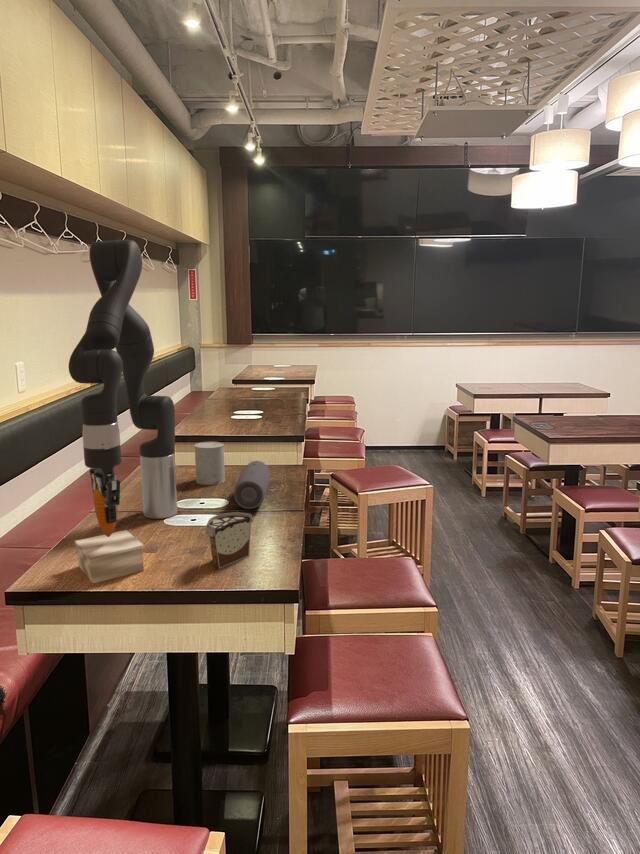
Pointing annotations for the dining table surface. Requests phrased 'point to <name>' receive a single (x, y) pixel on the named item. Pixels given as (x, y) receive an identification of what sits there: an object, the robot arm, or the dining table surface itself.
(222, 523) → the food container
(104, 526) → the carrot
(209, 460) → the grey cylinder
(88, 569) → the wooden stand
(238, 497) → the bluetooth speaker
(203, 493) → the dining table surface
